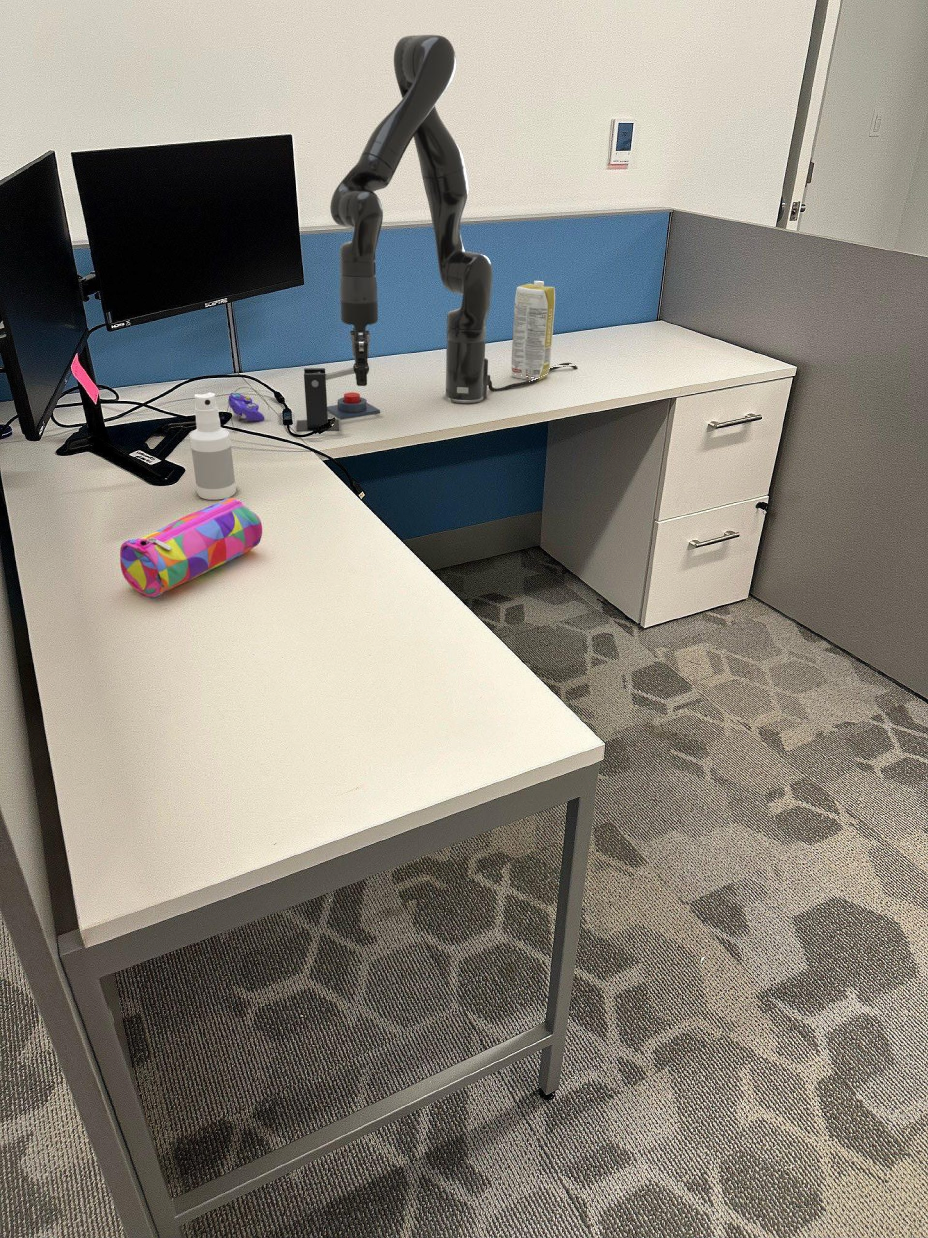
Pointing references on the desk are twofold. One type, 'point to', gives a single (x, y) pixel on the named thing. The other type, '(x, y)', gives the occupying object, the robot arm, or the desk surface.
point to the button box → (352, 409)
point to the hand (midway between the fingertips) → (361, 382)
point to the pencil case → (189, 547)
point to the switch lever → (342, 372)
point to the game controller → (244, 407)
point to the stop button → (351, 397)
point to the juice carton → (532, 330)
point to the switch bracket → (315, 401)
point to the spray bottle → (211, 451)
